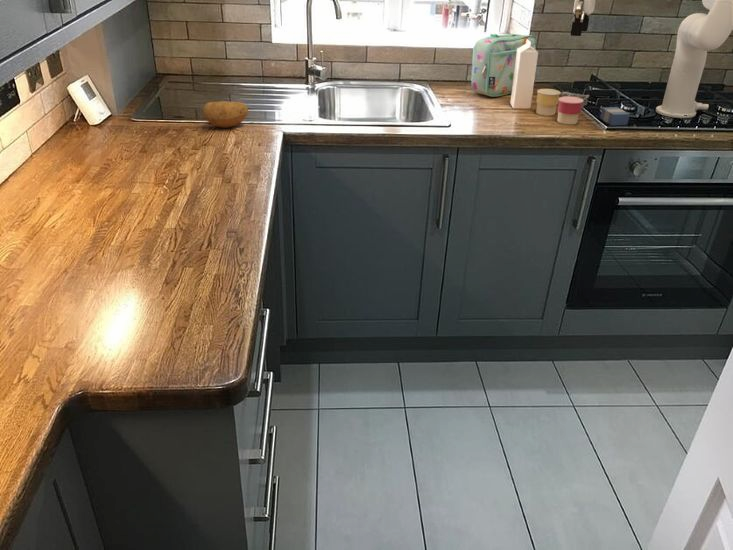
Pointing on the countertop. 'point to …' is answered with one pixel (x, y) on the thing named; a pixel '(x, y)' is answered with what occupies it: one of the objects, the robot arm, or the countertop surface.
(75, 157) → the countertop surface
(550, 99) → the vanilla yogurt
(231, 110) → the potato
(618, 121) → the block
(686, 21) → the robot arm
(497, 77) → the lunch box
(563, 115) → the raspberry yogurt
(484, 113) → the countertop surface
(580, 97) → the egg carton
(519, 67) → the milk
